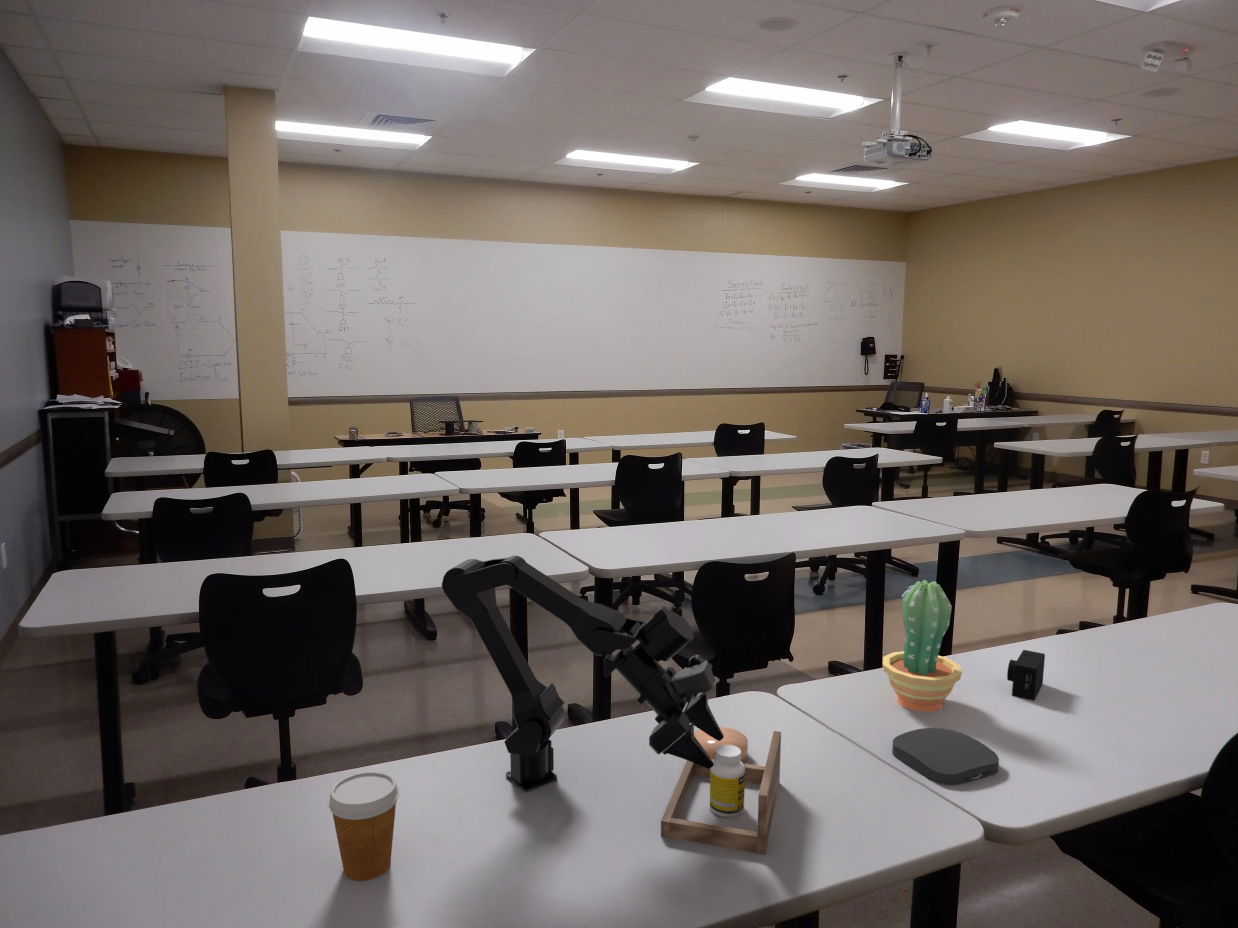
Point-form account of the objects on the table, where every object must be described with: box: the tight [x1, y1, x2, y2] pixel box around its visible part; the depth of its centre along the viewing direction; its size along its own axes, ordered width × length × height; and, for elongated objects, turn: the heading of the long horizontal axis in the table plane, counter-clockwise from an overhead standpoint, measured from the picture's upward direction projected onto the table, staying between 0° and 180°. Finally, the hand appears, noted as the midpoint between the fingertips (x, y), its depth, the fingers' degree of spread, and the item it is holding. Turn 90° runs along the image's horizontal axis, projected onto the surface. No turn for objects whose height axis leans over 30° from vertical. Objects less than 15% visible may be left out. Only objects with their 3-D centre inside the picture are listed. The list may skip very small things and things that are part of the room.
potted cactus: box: [882, 579, 963, 713], centre depth 169 cm, size 15×15×25 cm
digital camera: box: [1006, 649, 1046, 702], centre depth 176 cm, size 10×5×7 cm, turn 145°
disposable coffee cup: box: [327, 770, 400, 882], centre depth 116 cm, size 10×10×12 cm
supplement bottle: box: [708, 745, 746, 818], centre depth 131 cm, size 5×5×10 cm
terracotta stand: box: [694, 726, 749, 764], centre depth 148 cm, size 10×10×3 cm
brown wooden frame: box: [660, 730, 782, 855], centre depth 131 cm, size 15×20×9 cm
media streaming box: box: [891, 727, 1000, 786], centre depth 147 cm, size 15×15×3 cm
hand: (716, 752), depth 131 cm, fingers open, 9 cm apart
